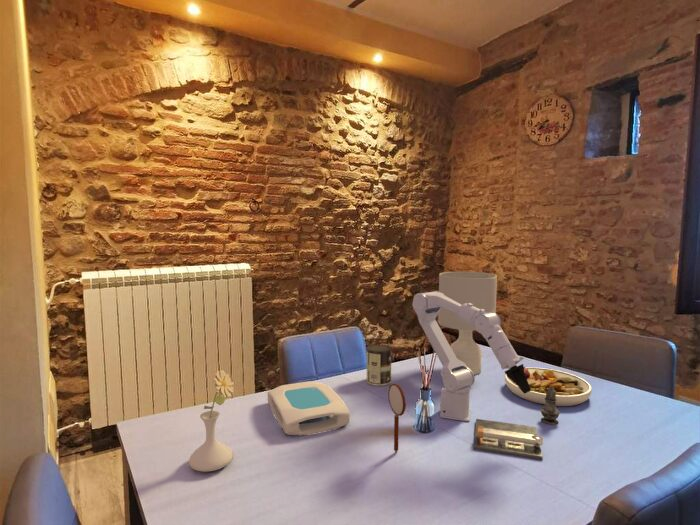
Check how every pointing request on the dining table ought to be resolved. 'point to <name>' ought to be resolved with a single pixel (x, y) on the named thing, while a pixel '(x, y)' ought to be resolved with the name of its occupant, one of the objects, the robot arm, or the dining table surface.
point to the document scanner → (307, 408)
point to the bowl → (563, 383)
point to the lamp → (463, 291)
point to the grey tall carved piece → (550, 408)
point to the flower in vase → (213, 432)
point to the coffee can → (379, 365)
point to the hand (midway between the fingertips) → (527, 391)
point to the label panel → (507, 446)
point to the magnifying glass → (396, 408)
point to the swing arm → (509, 436)
